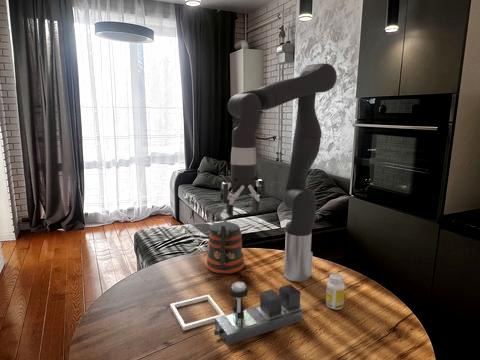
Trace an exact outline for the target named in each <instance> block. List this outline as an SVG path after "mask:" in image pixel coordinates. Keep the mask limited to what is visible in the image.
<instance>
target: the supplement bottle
mask: <svg viewBox="0 0 480 360" xmlns="http://www.w3.org/2000/svg"><path fill="white" fill-rule="evenodd" d="M345 287H346V286H345V283H344V276H343V275H341V274H340V273H330V274H329V280H328V281H327V282H326V292H325V305H326V306H327V308H329V309H333V310H341V309H343V307H344V304H345V303H344V302H345V290H346V289H345Z"/></svg>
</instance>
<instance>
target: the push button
mask: <svg viewBox="0 0 480 360" xmlns="http://www.w3.org/2000/svg"><path fill="white" fill-rule="evenodd" d="M228 291H229V294H230V296H231V297H233V298H234V304H233V305H232V311H233V312H232V313H233V315H234V314H235V321H236V323H238V326H241V323H242V320H243V318H244V312H243V311H244V310H245V305H244V304H243V299H244V298H245V297H247V296H248V294H249V286H248V285H246V284H245V282H243V281H236V282H235V281H234V282H233V283H232V284H230V286H229V287H228ZM239 324H240V325H239Z"/></svg>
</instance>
